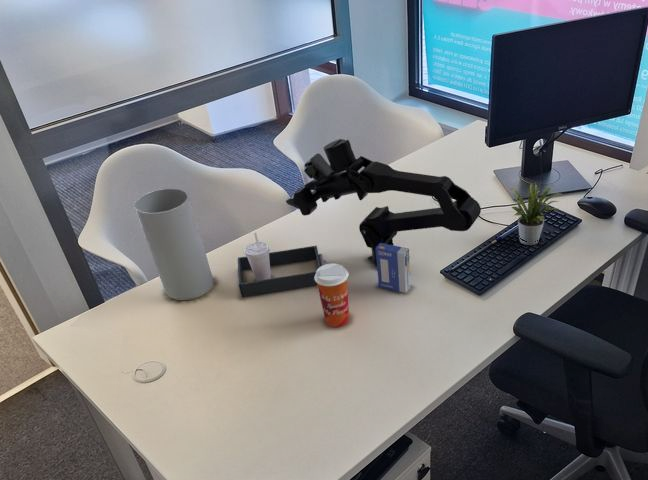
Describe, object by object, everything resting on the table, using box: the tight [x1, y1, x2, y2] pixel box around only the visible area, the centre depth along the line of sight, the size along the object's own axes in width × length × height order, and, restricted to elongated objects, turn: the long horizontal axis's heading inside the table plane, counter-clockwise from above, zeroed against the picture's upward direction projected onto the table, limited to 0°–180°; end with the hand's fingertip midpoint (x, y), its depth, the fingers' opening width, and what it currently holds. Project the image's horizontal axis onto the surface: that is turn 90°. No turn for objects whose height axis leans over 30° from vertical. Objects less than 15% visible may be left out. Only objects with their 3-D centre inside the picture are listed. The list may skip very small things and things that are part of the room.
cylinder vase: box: [133, 187, 215, 301], centre depth 153 cm, size 12×12×25 cm
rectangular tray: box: [237, 245, 326, 299], centre depth 162 cm, size 22×13×4 cm, turn 103°
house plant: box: [510, 182, 562, 246], centre depth 166 cm, size 14×14×16 cm
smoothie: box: [243, 232, 272, 281], centre depth 158 cm, size 6×6×14 cm
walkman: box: [376, 243, 412, 294], centre depth 153 cm, size 8×3×12 cm, turn 66°
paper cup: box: [314, 263, 350, 328], centre depth 144 cm, size 8×8×14 cm
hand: (296, 194), depth 166 cm, fingers open, 9 cm apart
